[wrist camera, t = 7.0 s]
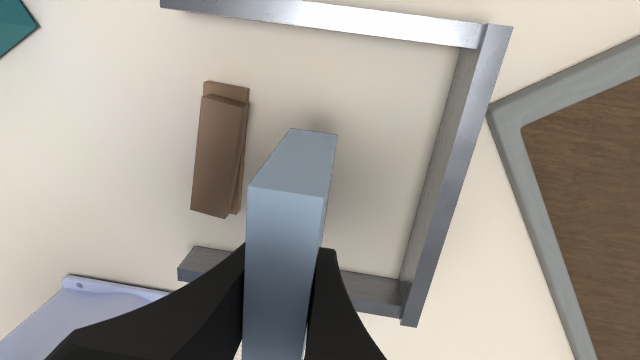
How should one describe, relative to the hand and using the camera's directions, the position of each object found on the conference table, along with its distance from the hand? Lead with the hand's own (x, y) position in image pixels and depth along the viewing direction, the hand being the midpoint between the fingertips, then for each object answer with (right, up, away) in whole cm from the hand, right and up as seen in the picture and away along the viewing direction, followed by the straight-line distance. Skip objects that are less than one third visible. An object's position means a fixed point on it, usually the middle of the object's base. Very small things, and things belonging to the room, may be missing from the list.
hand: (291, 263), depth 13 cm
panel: (0, +1, +3) cm, 3 cm away
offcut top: (-5, +5, +7) cm, 10 cm away
